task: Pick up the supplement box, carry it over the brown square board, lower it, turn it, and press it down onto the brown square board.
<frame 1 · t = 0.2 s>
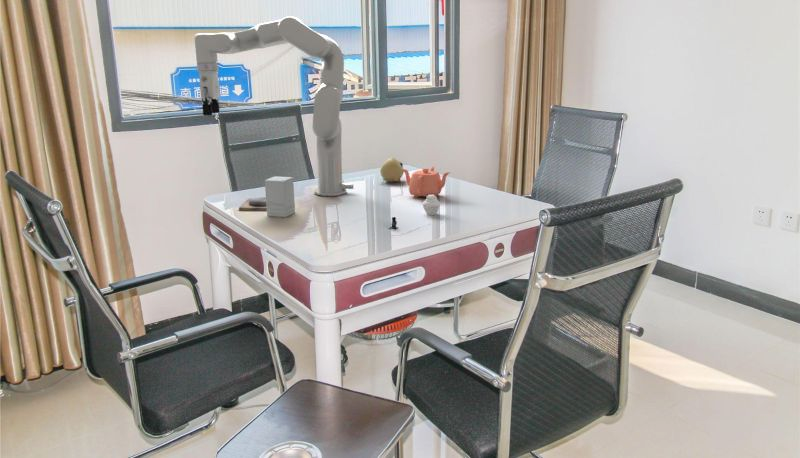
hand: (211, 113, 239), 31 cm above the table, tool pointing down, fingers open, 9 cm apart
supplement box: (281, 214, 216), on the table
brown square board: (263, 205, 227), on the table
teapot: (426, 196, 243), on the table
pale yellow rounded lump: (392, 182, 268), on the table
muffin: (431, 214, 216), on the table
sculpture: (392, 230, 199), on the table
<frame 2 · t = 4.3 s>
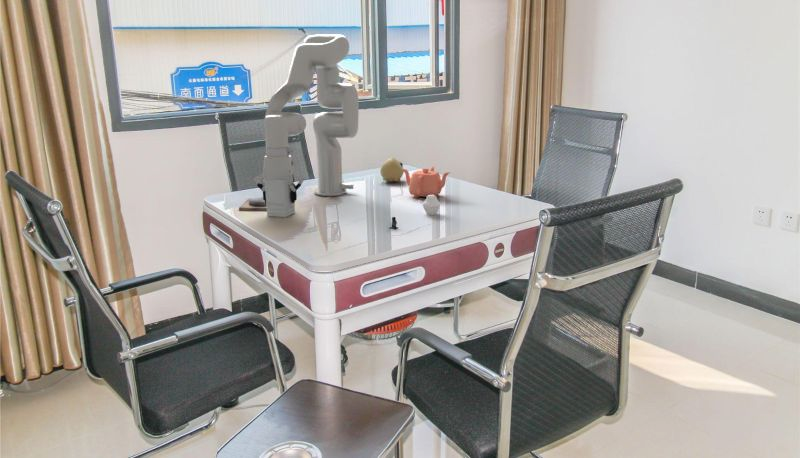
hand: (280, 202, 214), 4 cm above the table, tool pointing down, fingers closed on supplement box, 8 cm apart
supplement box: (281, 214, 216), on the table, touching gripper
everything else where it was.
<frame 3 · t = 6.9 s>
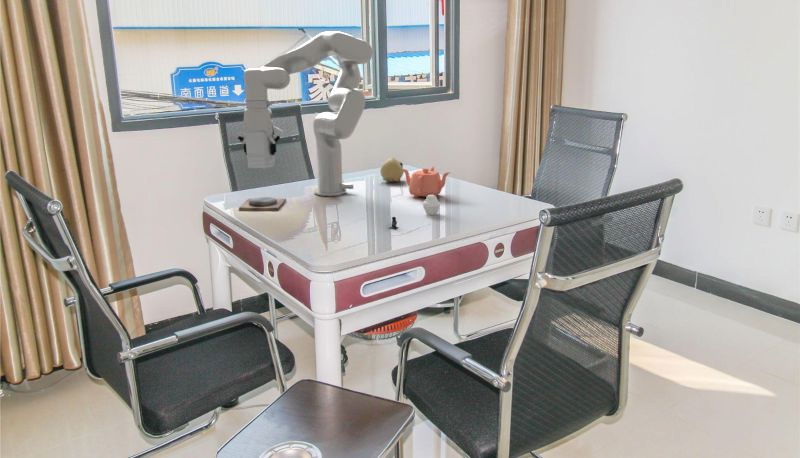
hand: (260, 154, 222), 19 cm above the table, tool pointing down, fingers closed on supplement box, 8 cm apart
supplement box: (261, 167, 223), point 14 cm above the table, touching gripper
everything else where it was.
when the fingers open (7 cm above the table, at t = 9.8 s): supplement box stays where it is, resting on brown square board.
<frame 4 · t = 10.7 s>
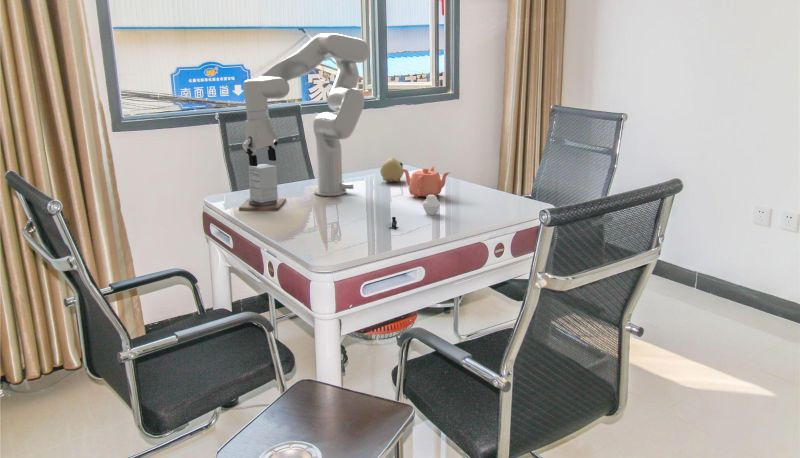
hand: (263, 163, 224), 16 cm above the table, tool pointing down, fingers open, 9 cm apart
supplement box: (263, 200, 227), point 2 cm above the table, touching brown square board
everything else where it was.
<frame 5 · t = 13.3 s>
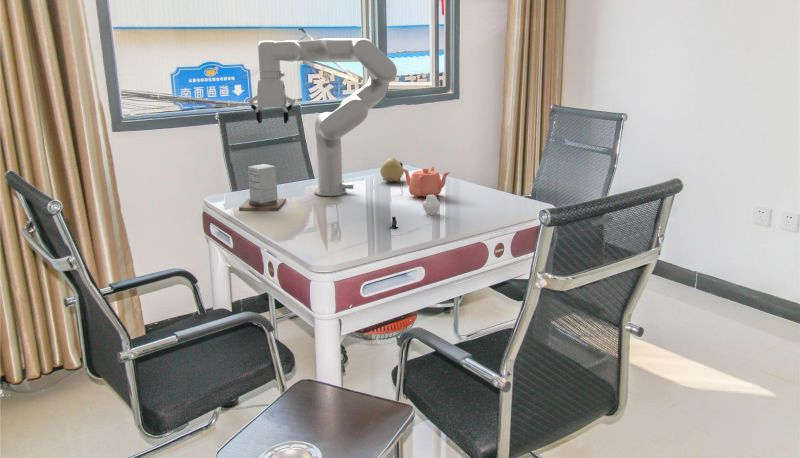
hand: (272, 122, 234), 28 cm above the table, tool pointing down, fingers open, 9 cm apart
nothing on the table moved.
at the end: supplement box inside the target area on the brown square board (0.4 cm from its centre), point 1.8 cm above the brown square board's base; supplement box tilted 0°; the gripper is holding nothing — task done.
